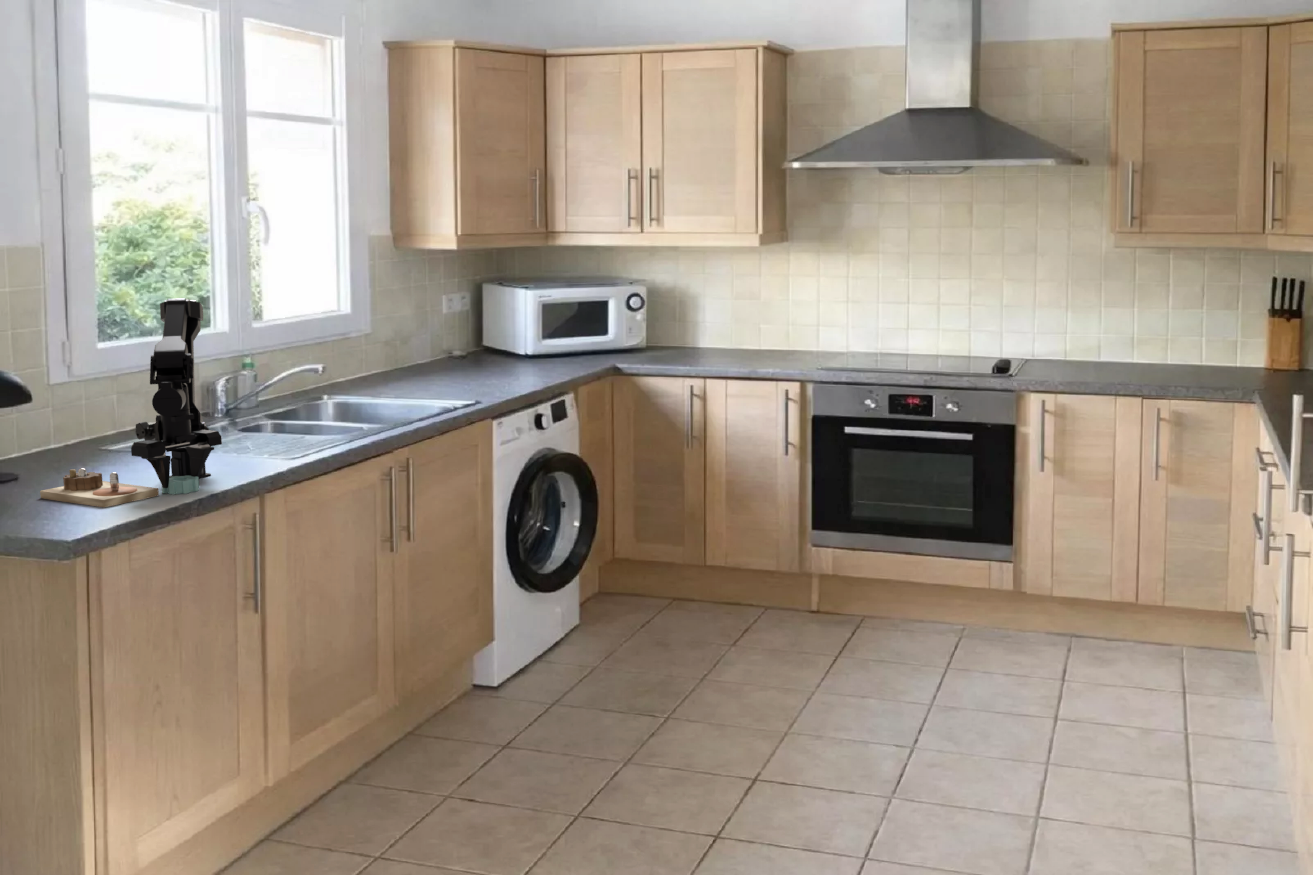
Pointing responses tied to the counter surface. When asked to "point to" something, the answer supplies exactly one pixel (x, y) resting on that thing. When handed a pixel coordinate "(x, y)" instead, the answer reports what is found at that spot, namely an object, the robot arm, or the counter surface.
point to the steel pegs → (113, 478)
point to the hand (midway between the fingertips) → (180, 484)
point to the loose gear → (182, 485)
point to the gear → (82, 481)
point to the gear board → (101, 494)
